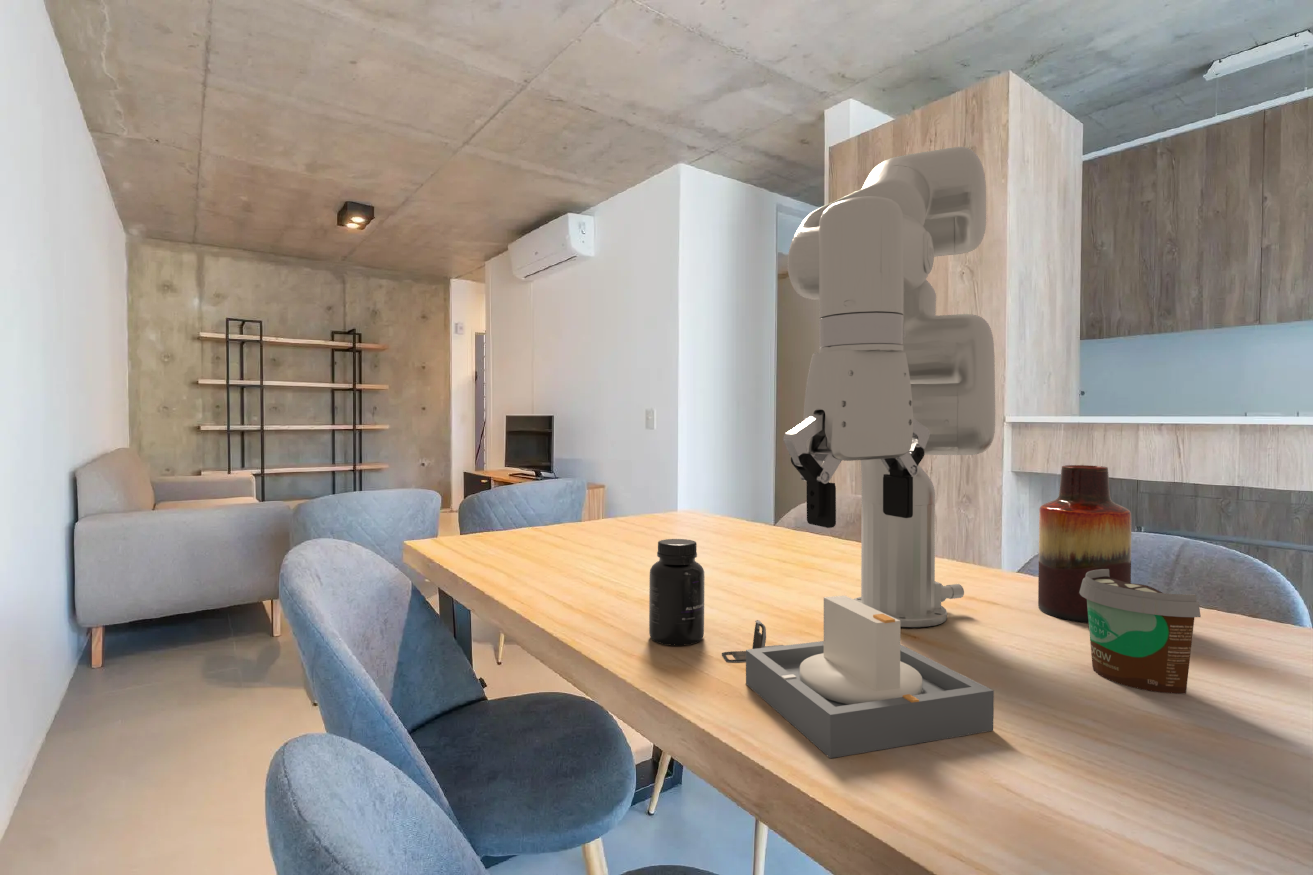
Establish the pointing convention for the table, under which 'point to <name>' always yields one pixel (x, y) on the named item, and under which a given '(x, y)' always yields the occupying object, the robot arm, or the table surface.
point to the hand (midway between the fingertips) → (860, 520)
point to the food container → (1139, 633)
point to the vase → (1080, 540)
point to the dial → (859, 656)
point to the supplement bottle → (676, 594)
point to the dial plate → (870, 704)
